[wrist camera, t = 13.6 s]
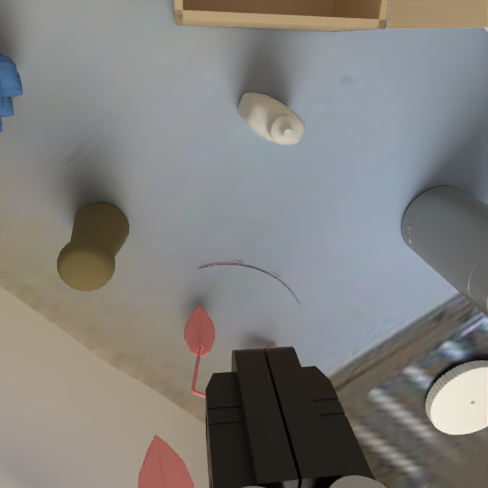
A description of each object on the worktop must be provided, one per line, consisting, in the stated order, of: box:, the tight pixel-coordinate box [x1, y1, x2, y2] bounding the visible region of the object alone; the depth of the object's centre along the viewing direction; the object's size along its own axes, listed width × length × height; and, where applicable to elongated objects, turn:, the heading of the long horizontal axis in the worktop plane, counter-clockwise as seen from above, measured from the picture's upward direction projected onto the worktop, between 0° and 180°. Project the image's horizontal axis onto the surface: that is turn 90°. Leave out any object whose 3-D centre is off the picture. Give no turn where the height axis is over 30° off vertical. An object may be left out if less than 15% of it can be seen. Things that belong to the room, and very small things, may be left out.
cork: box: [57, 202, 129, 291], centre depth 44 cm, size 6×6×11 cm
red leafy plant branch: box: [138, 261, 290, 488], centre depth 42 cm, size 15×26×35 cm, turn 50°
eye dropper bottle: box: [237, 92, 305, 145], centre depth 41 cm, size 4×6×12 cm
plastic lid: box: [425, 360, 488, 435], centre depth 68 cm, size 14×14×2 cm
